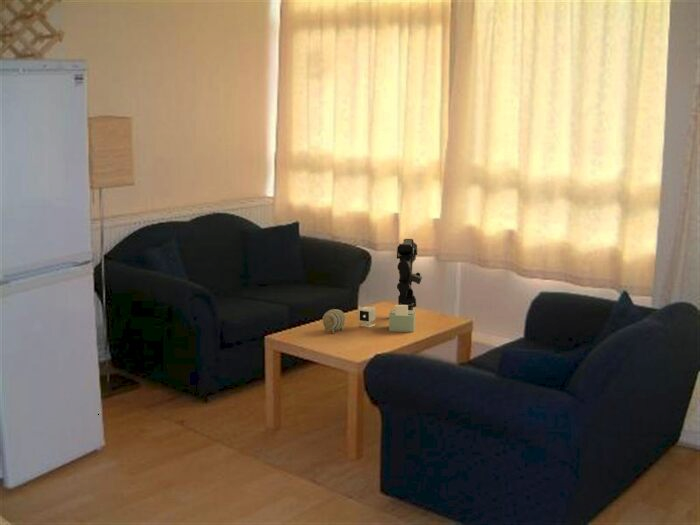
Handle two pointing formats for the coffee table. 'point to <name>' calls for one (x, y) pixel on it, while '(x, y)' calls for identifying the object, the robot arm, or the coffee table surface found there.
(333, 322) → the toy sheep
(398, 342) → the coffee table surface
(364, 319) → the security camera
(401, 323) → the green envelope with card
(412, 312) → the green napkin box
